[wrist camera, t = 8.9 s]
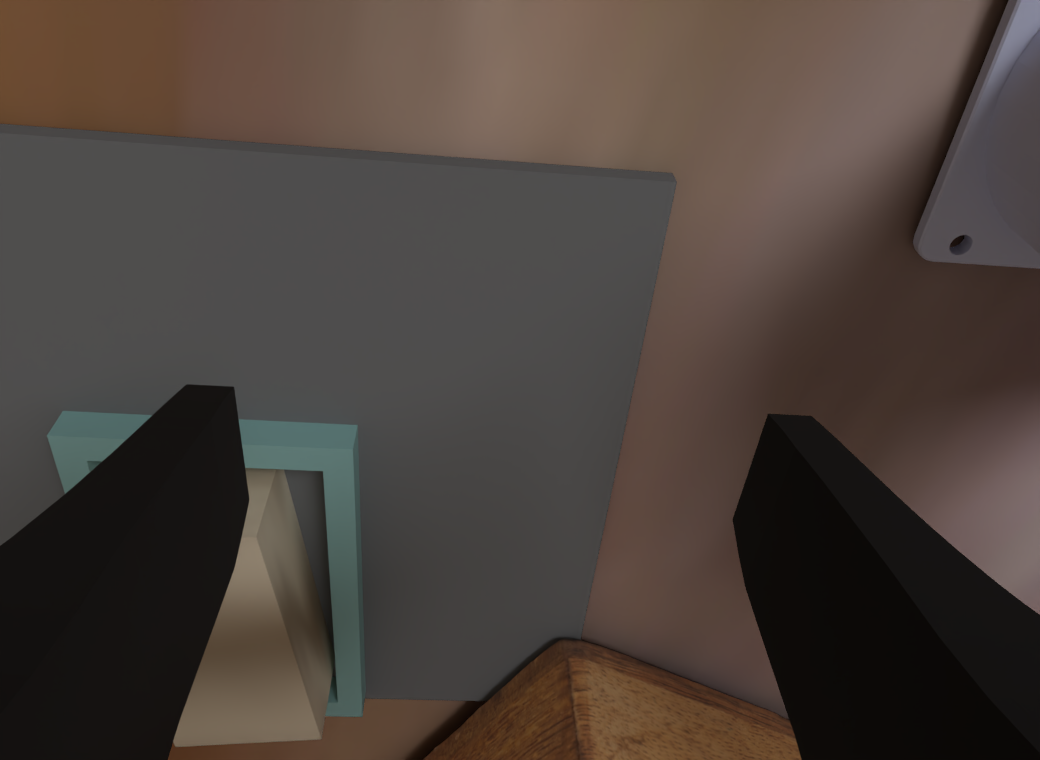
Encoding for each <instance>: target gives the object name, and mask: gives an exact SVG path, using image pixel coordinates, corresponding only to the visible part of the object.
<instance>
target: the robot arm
mask: <svg viewBox="0 0 1040 760" xmlns="http://www.w3.org/2000/svg"><path fill="white" fill-rule="evenodd" d="M961 235H965V236H964V239H963V240H962V242H961V243H960V244H958V245H957V246H955V247H950V244H951V242H952V241H953V240H954V239H955V238H957V237H958V236H961ZM913 245H914V249H915V250H916V251H917V253H918V254H919V255H920V256H921V257H922V258H923V259H924V260H928V261H931V262H945V263H960V264H975V265H990V266H1005V267H1020V268H1035V269H1040V0H1009V1H1008V3H1007V6H1006V8H1005V10H1004V13H1003V15H1002V18H1001V20H1000V23H999V25H998V28H997V30H996V33H995V35H994V38H993V40H992V43H991V45H990V48H989V50H988V53H987V55H986V58H985V60H984V63H983V65H982V68H981V70H980V73H979V75H978V78H977V80H976V83H975V85H974V88H973V90H972V93H971V95H970V98H969V100H968V103H967V105H966V108H965V110H964V113H963V115H962V118H961V120H960V123H959V125H958V128H957V130H956V133H955V135H954V138H953V140H952V143H951V145H950V148H949V150H948V153H947V155H946V158H945V160H944V163H943V165H942V167H941V170H940V172H939V175H938V177H937V180H936V182H935V185H934V187H933V190H932V192H931V195H930V197H929V200H928V202H927V205H926V207H925V210H924V212H923V215H922V217H921V220H920V222H919V225H918V227H917V230H916V232H915V235H914V239H913ZM249 500H250V499H249V492H248V485H247V477H246V470H245V463H244V455H243V448H242V441H241V433H240V426H239V419H238V411H237V404H236V397H235V390H234V387H232V386H212V385H193V384H186V385H185V386H184V387H183V388H182V389H181V390H179V391H178V392H177V393H176V394H175V395H174V396H173V397H172V398H170V399H169V400H168V401H167V402H166V403H165V404H164V405H163V406H162V407H161V408H160V409H159V410H157V411H156V412H155V413H154V414H153V415H152V416H151V417H150V418H149V419H148V420H147V421H146V422H145V423H144V424H143V425H141V426H140V427H139V428H138V429H137V430H136V431H135V432H134V433H133V434H132V435H131V436H130V437H129V438H127V439H126V440H125V441H124V442H123V443H122V444H121V445H120V446H119V447H118V448H117V449H116V450H114V451H113V452H112V453H111V454H110V455H109V456H108V457H107V458H105V459H104V460H103V461H102V462H101V463H100V464H99V465H98V466H96V467H95V468H94V469H93V470H92V471H91V472H90V473H88V474H87V475H86V476H85V477H84V478H83V479H82V480H81V481H79V482H78V483H77V484H76V485H75V486H74V487H73V488H71V489H70V490H69V491H68V492H67V493H66V494H64V495H63V496H62V497H61V498H60V499H58V500H57V501H56V502H55V503H53V504H52V505H51V506H50V507H48V508H47V509H46V510H45V511H43V512H42V513H41V514H40V515H39V516H37V517H36V518H35V519H34V520H32V521H31V522H30V523H29V524H27V525H26V526H25V527H24V528H22V529H21V530H20V531H19V532H17V533H16V534H15V535H14V536H12V537H11V538H10V539H9V540H7V541H6V542H5V543H3V544H2V545H1V546H0V760H168V756H169V753H170V750H171V747H172V743H173V740H174V737H175V734H176V731H177V727H178V724H179V721H180V718H181V715H182V713H183V710H184V707H185V704H186V702H187V699H188V696H189V693H190V691H191V688H192V685H193V682H194V680H195V677H196V674H197V671H198V669H199V666H200V663H201V660H202V658H203V655H204V652H205V649H206V647H207V644H208V641H209V638H210V636H211V633H212V630H213V627H214V625H215V622H216V619H217V616H218V613H219V611H220V608H221V605H222V602H223V599H224V597H225V594H226V591H227V588H228V585H229V582H230V579H231V577H232V574H233V571H234V568H235V564H236V560H237V555H238V551H239V547H240V542H241V538H242V533H243V529H244V524H245V519H246V514H247V509H248V505H249ZM733 524H734V530H735V535H736V541H737V547H738V553H739V558H740V563H741V568H742V573H743V578H744V583H745V587H746V590H747V593H748V596H749V600H750V603H751V606H752V609H753V612H754V615H755V618H756V621H757V624H758V627H759V630H760V633H761V636H762V639H763V642H764V645H765V648H766V651H767V654H768V657H769V660H770V663H771V666H772V669H773V672H774V675H775V678H776V681H777V684H778V687H779V690H780V693H781V696H782V699H783V702H784V705H785V708H786V711H787V714H788V717H789V720H790V723H791V726H792V729H793V732H794V735H795V738H796V742H797V745H798V749H799V752H800V756H801V759H802V760H1040V615H1039V614H1038V613H1036V612H1035V611H1033V610H1032V609H1031V608H1029V607H1028V606H1027V605H1025V604H1024V603H1022V602H1021V601H1020V600H1018V599H1017V598H1016V597H1015V596H1013V595H1012V594H1011V593H1009V592H1008V591H1007V590H1006V589H1004V588H1003V587H1002V586H1000V585H999V584H998V583H997V582H995V581H994V580H993V579H992V578H990V577H989V576H988V575H987V574H986V573H984V572H983V571H982V570H981V569H980V568H978V567H977V566H976V565H975V564H974V563H972V562H971V561H970V560H969V559H968V558H966V557H965V556H964V555H963V554H962V553H960V552H959V551H958V550H957V549H955V548H954V547H953V546H952V545H951V544H950V543H949V542H947V541H946V540H945V539H944V538H943V537H942V536H941V535H939V534H938V533H937V532H936V531H935V530H934V529H933V528H931V527H930V526H929V525H928V524H927V523H926V522H925V521H924V520H922V519H921V518H920V517H919V516H918V515H917V514H916V513H915V512H914V511H913V510H911V509H910V508H909V507H908V506H907V505H906V504H905V503H904V502H903V501H902V500H901V499H900V498H898V497H897V496H896V495H895V494H894V493H893V492H892V491H891V490H890V489H889V488H888V487H887V486H886V485H885V484H884V483H882V482H881V481H880V480H879V479H878V478H877V477H876V476H875V475H874V474H873V473H872V472H871V471H870V470H869V469H868V468H867V467H866V466H865V465H864V464H863V463H861V462H860V461H859V460H858V459H857V458H856V457H855V456H854V455H853V454H852V453H851V452H850V451H849V450H848V449H847V448H846V447H845V446H844V445H843V444H842V443H840V442H839V441H838V440H837V439H836V438H835V437H834V436H833V435H832V434H831V433H830V432H829V431H828V430H826V429H825V428H824V427H823V426H822V425H821V424H820V423H819V422H817V421H816V420H815V419H814V418H813V417H812V416H799V415H780V414H768V416H767V419H766V422H765V425H764V428H763V431H762V434H761V437H760V440H759V443H758V446H757V449H756V452H755V455H754V458H753V461H752V464H751V467H750V470H749V473H748V476H747V478H746V481H745V484H744V487H743V490H742V493H741V496H740V499H739V502H738V505H737V508H736V511H735V514H734V517H733Z"/></svg>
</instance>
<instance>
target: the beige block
mask: <svg viewBox="0 0 1040 760" xmlns="http://www.w3.org/2000/svg"><path fill="white" fill-rule="evenodd" d="M245 470H246V477H247V485H248V492H249V499H250V500H249V505H248V509H247V514H246V519H245V524H244V529H243V533H242V538H241V542H240V547H239V551H238V555H237V560H236V564H235V568H234V571H233V574H232V577H231V579H230V582H229V585H228V588H227V591H226V594H225V597H224V599H223V602H222V605H221V608H220V611H219V613H218V616H217V619H216V622H215V625H214V627H213V630H212V633H211V636H210V638H209V641H208V644H207V647H206V649H205V652H204V655H203V658H202V660H201V663H200V666H199V669H198V671H197V674H196V677H195V680H194V682H193V685H192V688H191V691H190V693H189V696H188V699H187V702H186V704H185V707H184V710H183V713H182V715H181V718H180V721H179V724H178V727H177V731H176V734H175V737H174V740H173V743H174V745H175V747H185V746H205V745H224V744H243V743H262V742H282V741H301V740H320V739H322V733H323V727H324V721H325V715H326V709H327V703H328V697H329V691H330V685H331V679H332V673H333V667H334V661H335V653H334V650H333V646H332V642H331V639H330V635H329V632H328V628H327V624H326V621H325V617H324V613H323V610H322V606H321V602H320V599H319V595H318V592H317V588H316V584H315V581H314V577H313V573H312V570H311V566H310V563H309V559H308V555H307V552H306V548H305V544H304V541H303V537H302V534H301V530H300V526H299V523H298V519H297V515H296V512H295V508H294V505H293V501H292V497H291V494H290V490H289V486H288V483H287V479H286V475H285V472H284V469H261V468H245Z"/></svg>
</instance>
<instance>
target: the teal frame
mask: <svg viewBox="0 0 1040 760" xmlns="http://www.w3.org/2000/svg"><path fill="white" fill-rule="evenodd" d="M151 416H152V415H139V414H118V413H97V412H76V411H63V412H62V413H61V415H60V416H59V418H58V419H57V421H56V422H55V424H54V425H53V427H52V429H51V430H50V432H49V433H48V435H47V437H48V441H49V444H50V447H51V450H52V454H53V457H54V460H55V463H56V466H57V470H58V473H59V476H60V479H61V482H62V486H63V489H64V492H65V494H66V493H67V492H68V491H69V490H70V489H71V488H73V487H74V486H75V485H76V484H77V483H78V482H79V481H81V480H82V479H83V478H84V477H85V476H86V475H87V474H88V473H90V472H91V471H92V470H93V469H94V468H95V467H96V466H98V465H99V464H100V463H101V462H102V461H103V460H104V459H105V458H107V457H108V456H109V455H110V454H111V453H112V452H113V451H114V450H116V449H117V448H118V447H119V446H120V445H121V444H122V443H123V442H124V441H125V440H126V439H127V438H129V437H130V436H131V435H132V434H133V433H134V432H135V431H136V430H137V429H138V428H139V427H140V426H141V425H143V424H144V423H145V422H146V421H147V420H148V419H149V418H150V417H151ZM239 426H240V433H241V441H242V448H243V455H244V463H245V468H261V469H284V470H307V471H323V479H324V494H325V510H326V526H327V541H328V557H329V572H330V588H331V604H332V619H333V635H334V651H335V666H336V677H332V679H331V685H330V691H329V697H328V703H327V709H326V715H325V716H343V717H362V716H363V708H364V700H365V693H366V684H365V650H364V617H363V584H362V551H361V518H360V485H359V452H358V425H347V424H326V423H305V422H284V421H263V420H243V419H239Z"/></svg>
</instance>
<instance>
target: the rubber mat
mask: <svg viewBox="0 0 1040 760" xmlns="http://www.w3.org/2000/svg"><path fill="white" fill-rule="evenodd" d="M676 183H677V182H676V180H675V177H674V175H673V173H662V172H648V171H635V170H621V169H607V168H594V167H580V166H566V165H553V164H539V163H526V162H512V161H498V160H485V159H471V158H458V157H444V156H430V155H417V154H403V153H390V152H376V151H362V150H349V149H335V148H322V147H308V146H294V145H281V144H267V143H254V142H240V141H226V140H213V139H199V138H185V137H172V136H158V135H145V134H131V133H117V132H104V131H90V130H77V129H63V128H49V127H36V126H22V125H9V124H0V546H1V545H2V544H3V543H5V542H6V541H7V540H9V539H10V538H11V537H12V536H14V535H15V534H16V533H17V532H19V531H20V530H21V529H22V528H24V527H25V526H26V525H27V524H29V523H30V522H31V521H32V520H34V519H35V518H36V517H37V516H39V515H40V514H41V513H42V512H43V511H45V510H46V509H47V508H48V507H50V506H51V505H52V504H53V503H55V502H56V501H57V500H58V499H60V498H61V497H62V496H63V495H64V494H65V492H64V489H63V486H62V482H61V479H60V476H59V473H58V470H57V466H56V463H55V460H54V457H53V454H52V450H51V447H50V444H49V441H48V437H47V435H48V433H49V432H50V430H51V429H52V427H53V425H54V424H55V422H56V421H57V419H58V418H59V416H60V415H61V413H62V412H63V411H76V412H97V413H118V414H139V415H153V414H154V413H155V412H156V411H157V410H159V409H160V408H161V407H162V406H163V405H164V404H165V403H166V402H167V401H168V400H169V399H170V398H172V397H173V396H174V395H175V394H176V393H177V392H178V391H179V390H181V389H182V388H183V387H184V386H185V385H186V384H193V385H212V386H232V387H234V390H235V397H236V404H237V411H238V419H243V420H263V421H284V422H305V423H326V424H347V425H358V452H359V485H360V518H361V551H362V584H363V617H364V650H365V684H366V693H365V698H369V699H413V700H456V701H488V700H490V699H491V698H492V697H493V696H494V695H495V694H496V693H497V692H498V691H499V690H500V689H502V688H503V687H504V686H505V685H506V684H507V683H508V682H509V681H511V680H512V679H513V678H514V677H515V676H516V675H517V674H518V673H519V672H520V671H521V670H522V669H523V668H525V667H526V666H527V665H528V664H529V663H530V662H532V661H533V660H534V659H535V658H537V657H538V656H539V655H540V654H541V653H542V652H544V651H545V650H546V649H548V648H549V647H550V646H552V645H553V644H555V643H556V642H558V641H559V640H561V639H574V640H580V639H581V635H582V630H583V625H584V620H585V616H586V611H587V606H588V601H589V597H590V592H591V587H592V582H593V578H594V573H595V568H596V563H597V559H598V554H599V549H600V544H601V540H602V535H603V530H604V525H605V521H606V516H607V511H608V506H609V502H610V497H611V492H612V487H613V483H614V478H615V473H616V468H617V464H618V459H619V454H620V449H621V445H622V440H623V435H624V430H625V426H626V421H627V416H628V411H629V407H630V402H631V397H632V392H633V387H634V383H635V378H636V373H637V368H638V364H639V359H640V354H641V349H642V345H643V340H644V335H645V330H646V326H647V321H648V316H649V311H650V307H651V302H652V297H653V292H654V288H655V283H656V278H657V273H658V269H659V264H660V259H661V254H662V250H663V245H664V240H665V235H666V231H667V226H668V221H669V216H670V212H671V207H672V202H673V197H674V193H675V188H676ZM284 472H285V475H286V479H287V483H288V486H289V490H290V494H291V497H292V501H293V505H294V508H295V512H296V515H297V519H298V523H299V526H300V530H301V534H302V537H303V541H304V544H305V548H306V552H307V555H308V559H309V563H310V566H311V570H312V573H313V577H314V581H315V584H316V588H317V592H318V595H319V599H320V602H321V606H322V610H323V613H324V617H325V621H326V624H327V628H328V632H329V635H330V639H331V642H332V646H333V650H334V635H333V619H332V604H331V588H330V572H329V557H328V541H327V526H326V510H325V494H324V479H323V471H307V470H284ZM334 653H335V651H334ZM332 677H336V666H335V661H334V667H333V673H332Z"/></svg>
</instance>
